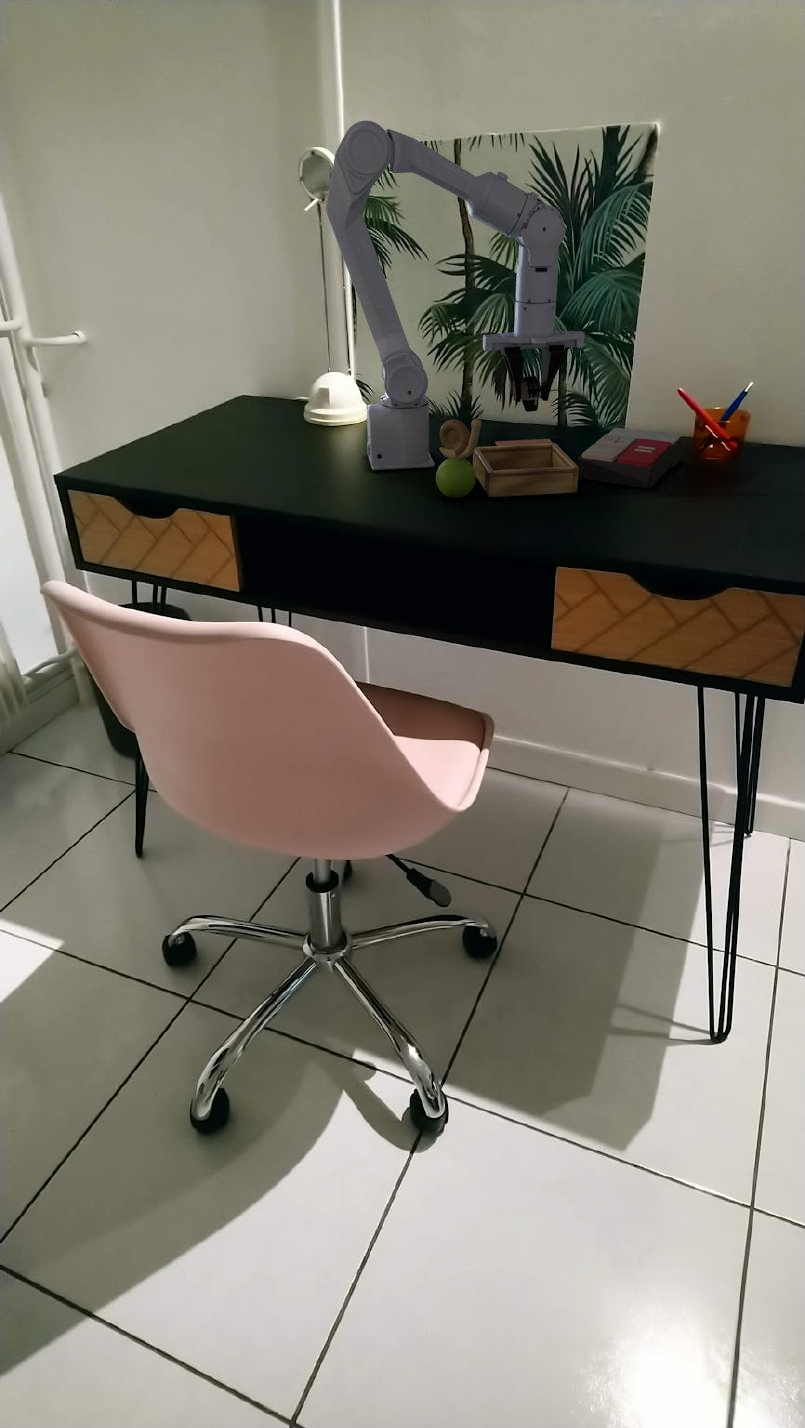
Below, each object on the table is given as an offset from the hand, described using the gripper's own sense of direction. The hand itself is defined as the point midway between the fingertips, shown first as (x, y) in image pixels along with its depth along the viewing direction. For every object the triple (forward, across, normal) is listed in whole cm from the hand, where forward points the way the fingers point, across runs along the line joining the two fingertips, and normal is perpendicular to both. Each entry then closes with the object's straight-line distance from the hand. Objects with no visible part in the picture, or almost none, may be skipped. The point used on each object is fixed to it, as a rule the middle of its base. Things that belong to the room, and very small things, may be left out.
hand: (530, 400), depth 133 cm
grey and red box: (+9, +13, -9) cm, 18 cm away
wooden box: (+9, -3, -12) cm, 15 cm away
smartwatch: (+2, 0, 0) cm, 2 cm away
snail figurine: (+9, -14, -17) cm, 24 cm away
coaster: (+9, +1, +4) cm, 10 cm away
